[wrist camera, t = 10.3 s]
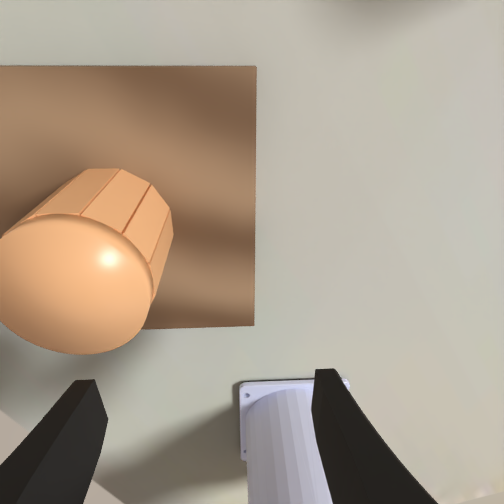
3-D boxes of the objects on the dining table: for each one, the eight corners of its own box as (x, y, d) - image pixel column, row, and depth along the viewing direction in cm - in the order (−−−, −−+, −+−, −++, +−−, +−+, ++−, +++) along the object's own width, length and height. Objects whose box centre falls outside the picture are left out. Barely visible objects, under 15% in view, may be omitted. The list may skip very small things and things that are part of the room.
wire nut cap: (177, 269, 19) (158, 352, 14) (72, 271, 19) (12, 356, 14) (165, 167, 16) (134, 224, 11) (41, 169, 16) (-50, 228, 11)
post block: (253, 314, 22) (258, 379, 18) (26, 322, 22) (-24, 390, 17) (255, 65, 15) (264, 74, 11) (-82, 65, 15) (-213, 74, 10)
